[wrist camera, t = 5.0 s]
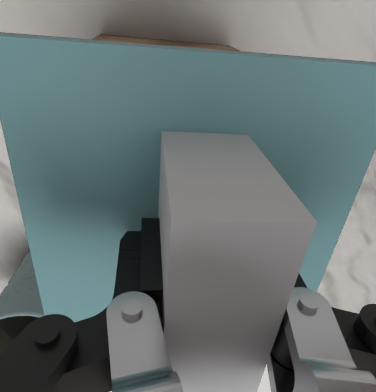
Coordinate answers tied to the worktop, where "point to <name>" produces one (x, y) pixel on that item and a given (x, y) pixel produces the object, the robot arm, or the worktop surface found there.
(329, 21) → the worktop surface
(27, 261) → the grey-blue cup
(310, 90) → the lid
